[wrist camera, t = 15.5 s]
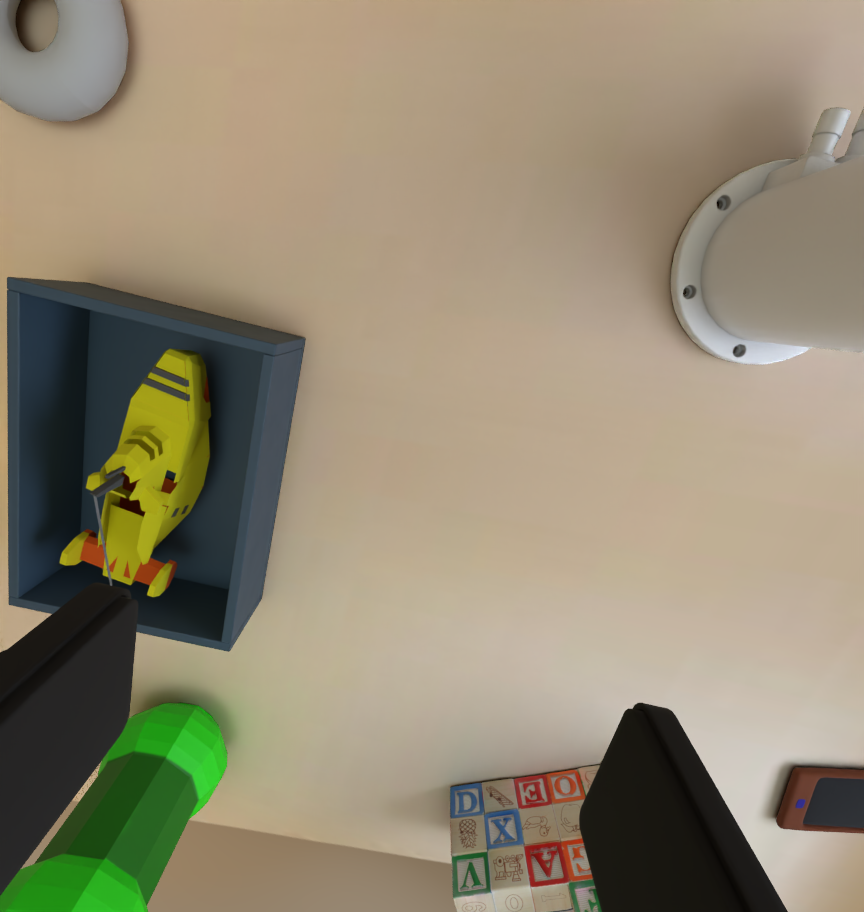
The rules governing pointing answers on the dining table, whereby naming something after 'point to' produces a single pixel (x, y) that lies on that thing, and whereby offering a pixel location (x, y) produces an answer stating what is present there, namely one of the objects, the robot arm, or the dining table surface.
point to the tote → (98, 434)
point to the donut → (65, 61)
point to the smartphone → (823, 800)
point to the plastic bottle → (127, 817)
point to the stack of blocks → (522, 845)
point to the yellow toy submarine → (150, 474)
